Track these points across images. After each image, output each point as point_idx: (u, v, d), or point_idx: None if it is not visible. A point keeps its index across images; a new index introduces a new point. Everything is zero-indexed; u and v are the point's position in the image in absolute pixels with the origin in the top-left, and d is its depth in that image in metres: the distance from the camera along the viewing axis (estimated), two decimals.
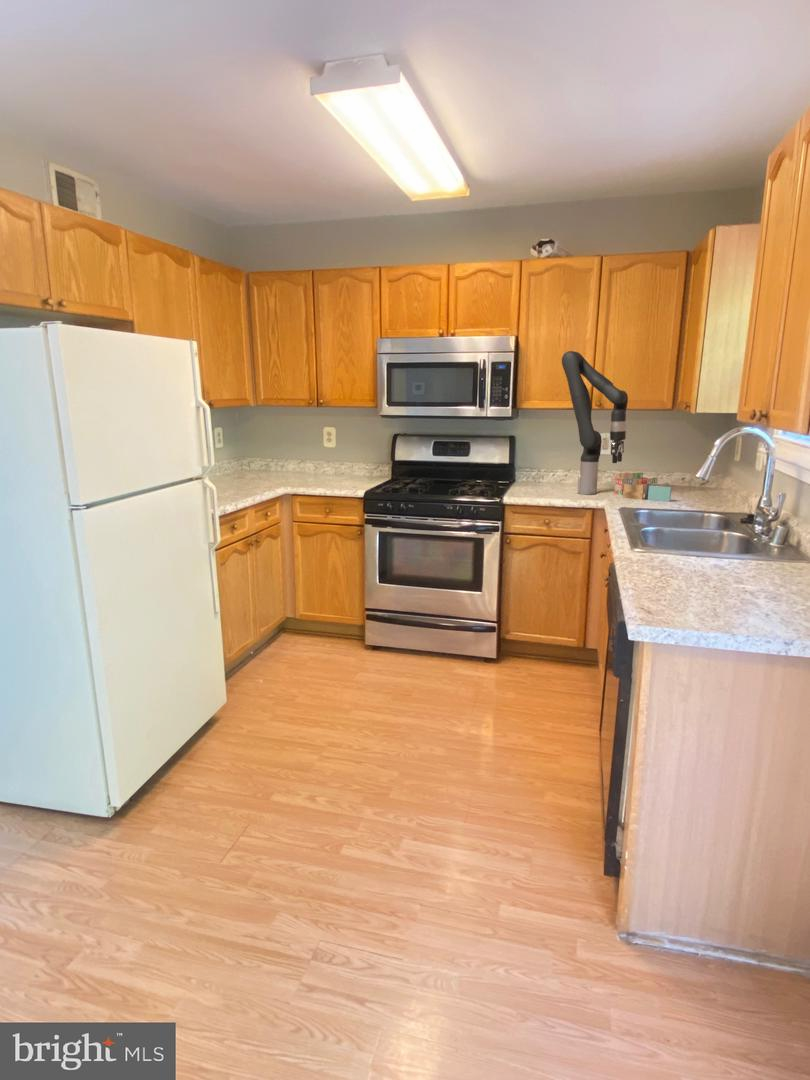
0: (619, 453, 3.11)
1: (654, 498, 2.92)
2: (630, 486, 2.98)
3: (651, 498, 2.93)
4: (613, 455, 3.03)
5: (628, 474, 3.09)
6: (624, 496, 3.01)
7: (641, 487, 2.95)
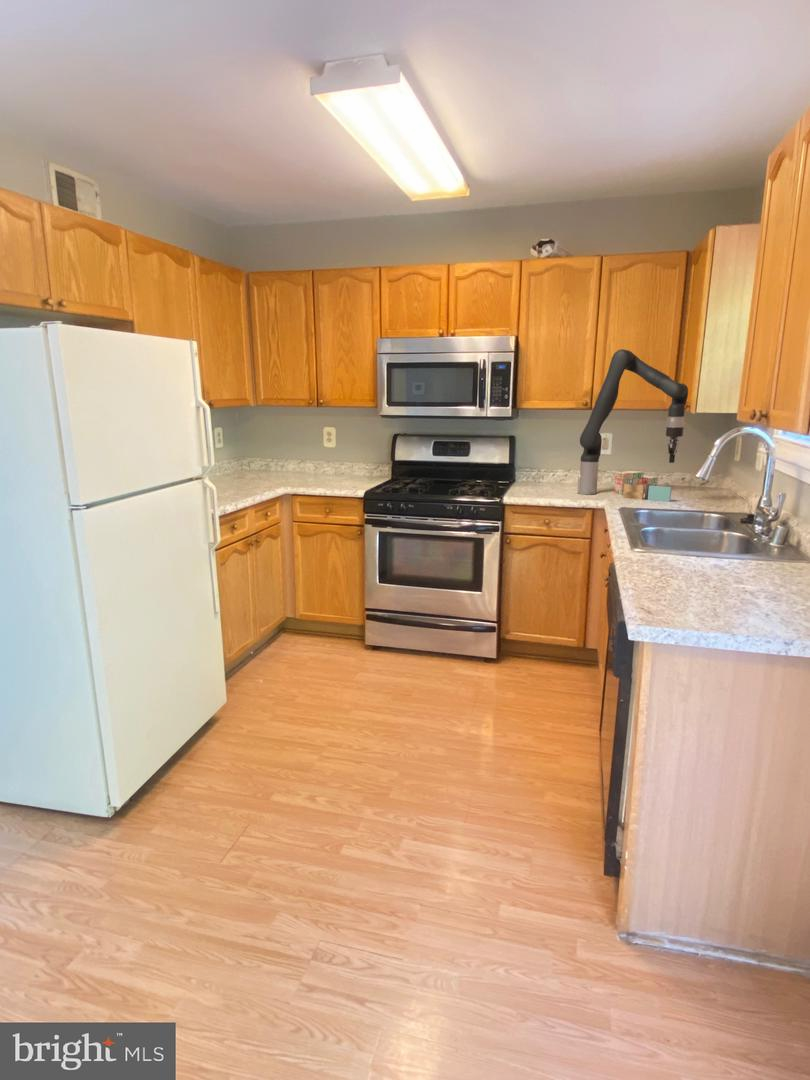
0: None
1: (654, 498, 2.92)
2: (630, 486, 2.98)
3: (651, 498, 2.93)
4: (671, 454, 2.88)
5: (628, 474, 3.09)
6: (624, 496, 3.01)
7: (641, 487, 2.95)
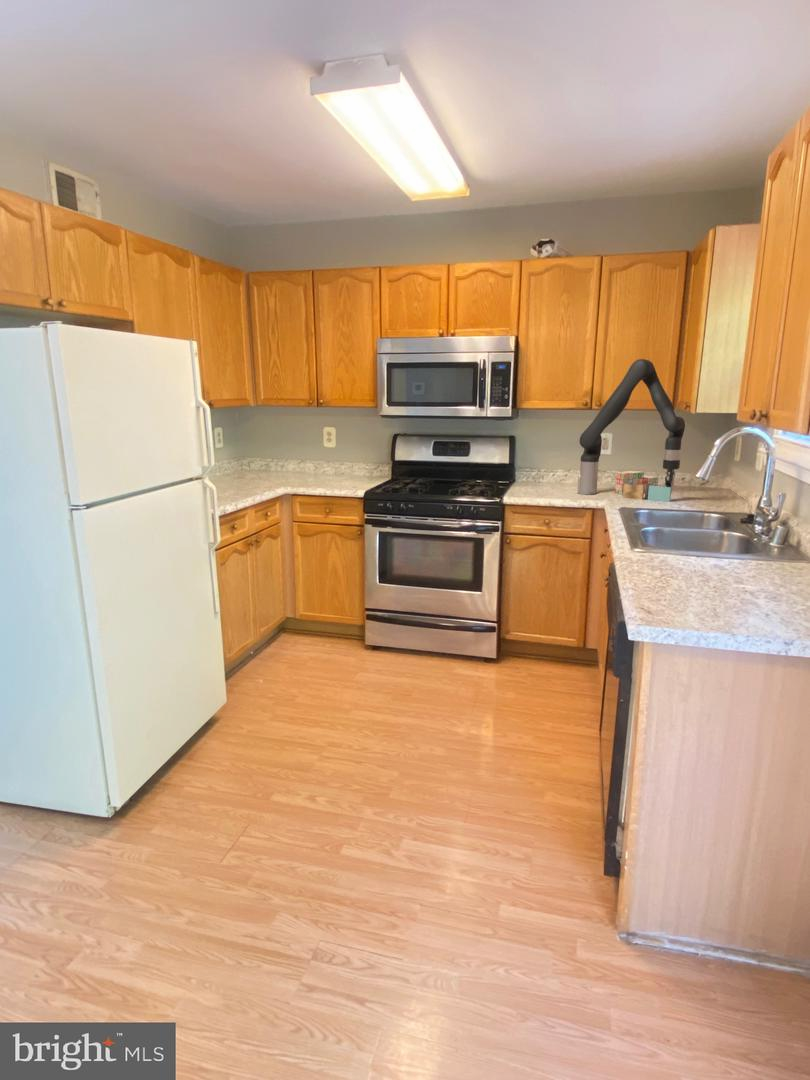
0: None
1: (654, 498, 2.92)
2: (630, 486, 2.98)
3: (651, 498, 2.93)
4: (667, 486, 2.91)
5: (629, 474, 3.09)
6: (624, 496, 3.01)
7: (641, 487, 2.95)
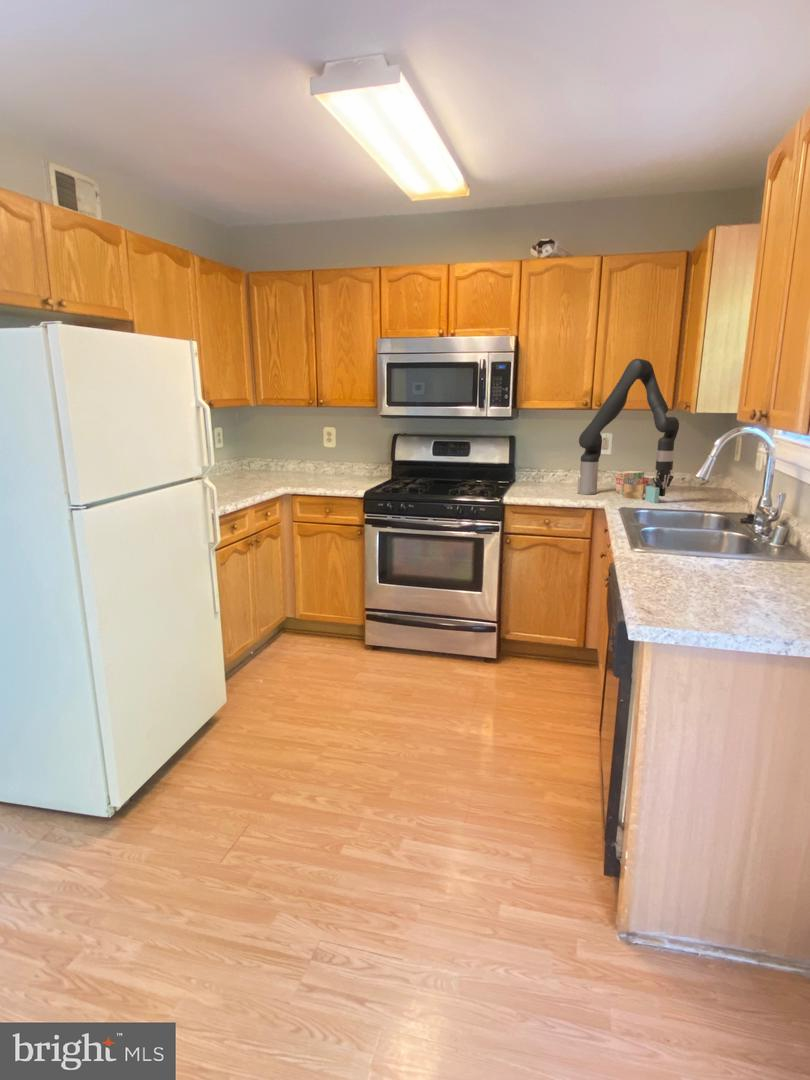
0: None
1: (647, 498, 2.91)
2: (630, 486, 2.98)
3: (646, 498, 2.93)
4: (659, 488, 2.86)
5: (629, 474, 3.09)
6: (624, 496, 3.01)
7: (641, 487, 2.95)
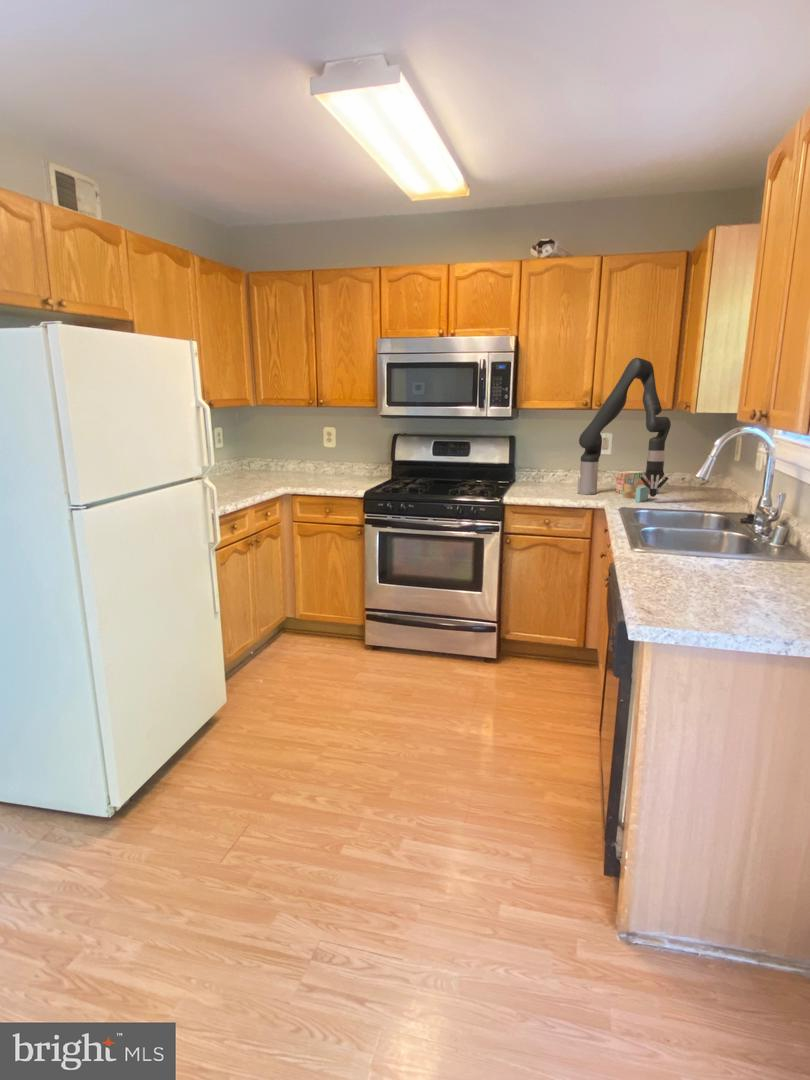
0: (653, 487, 2.84)
1: None
2: (630, 486, 2.98)
3: None
4: None
5: (629, 474, 3.09)
6: (624, 496, 3.01)
7: None
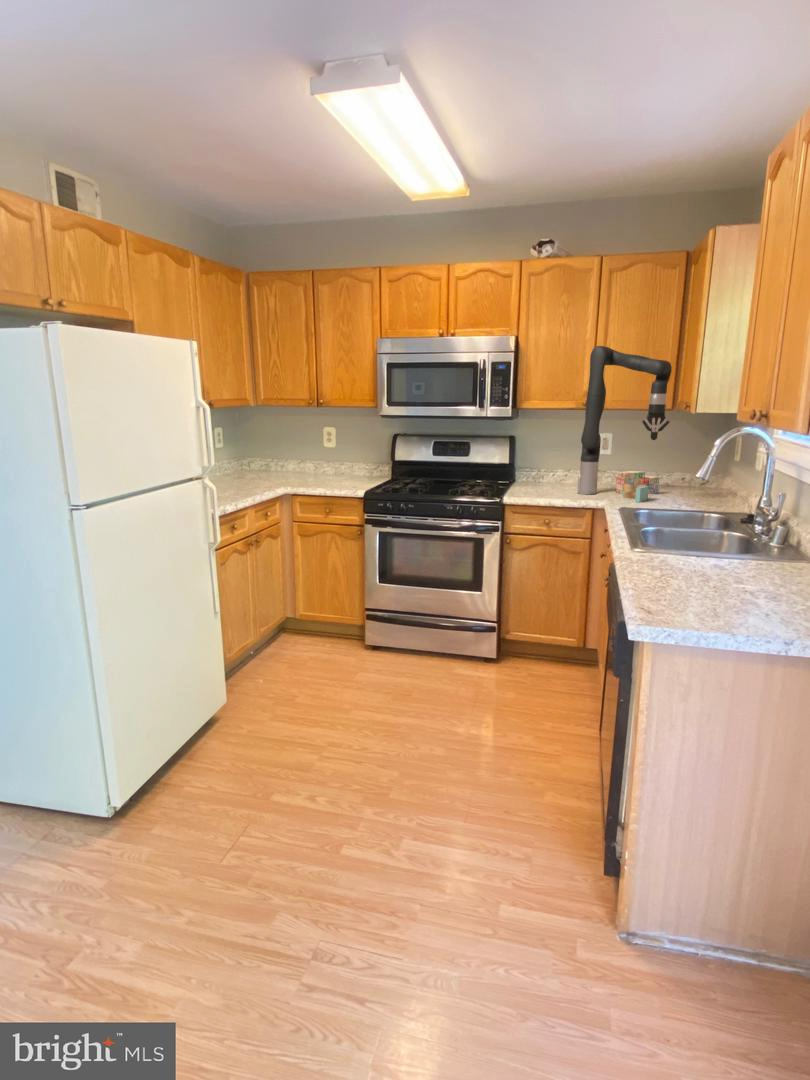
0: None
1: None
2: (630, 486, 2.98)
3: None
4: None
5: (630, 474, 3.09)
6: (624, 496, 3.01)
7: None
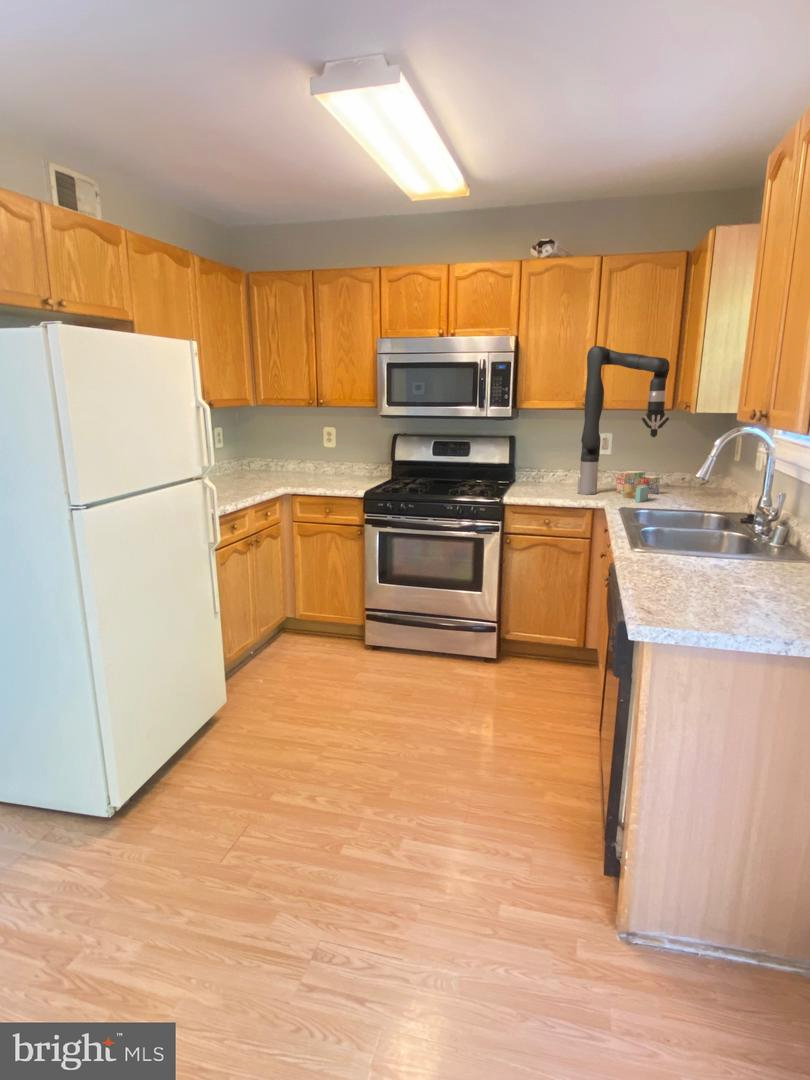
0: (654, 428, 2.91)
1: None
2: (630, 486, 2.98)
3: None
4: (650, 428, 2.92)
5: (630, 474, 3.10)
6: (624, 496, 3.01)
7: None
